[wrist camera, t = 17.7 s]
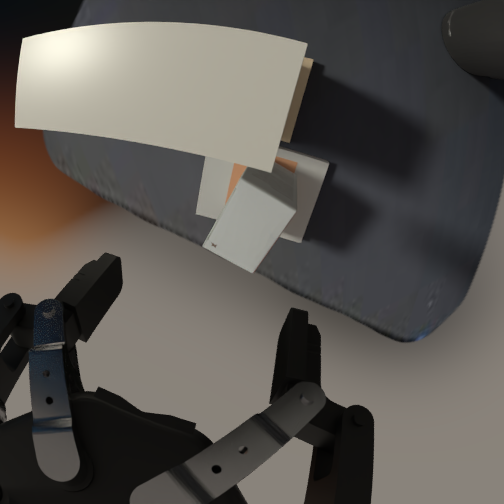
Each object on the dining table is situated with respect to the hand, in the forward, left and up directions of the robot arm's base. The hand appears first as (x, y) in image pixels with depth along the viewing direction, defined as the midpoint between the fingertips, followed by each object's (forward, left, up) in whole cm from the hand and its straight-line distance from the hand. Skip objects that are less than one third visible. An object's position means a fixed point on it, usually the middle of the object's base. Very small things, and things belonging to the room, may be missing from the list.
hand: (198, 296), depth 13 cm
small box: (-1, +4, -24) cm, 24 cm away
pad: (-1, +4, -25) cm, 25 cm away
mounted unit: (+9, -8, -25) cm, 28 cm away
